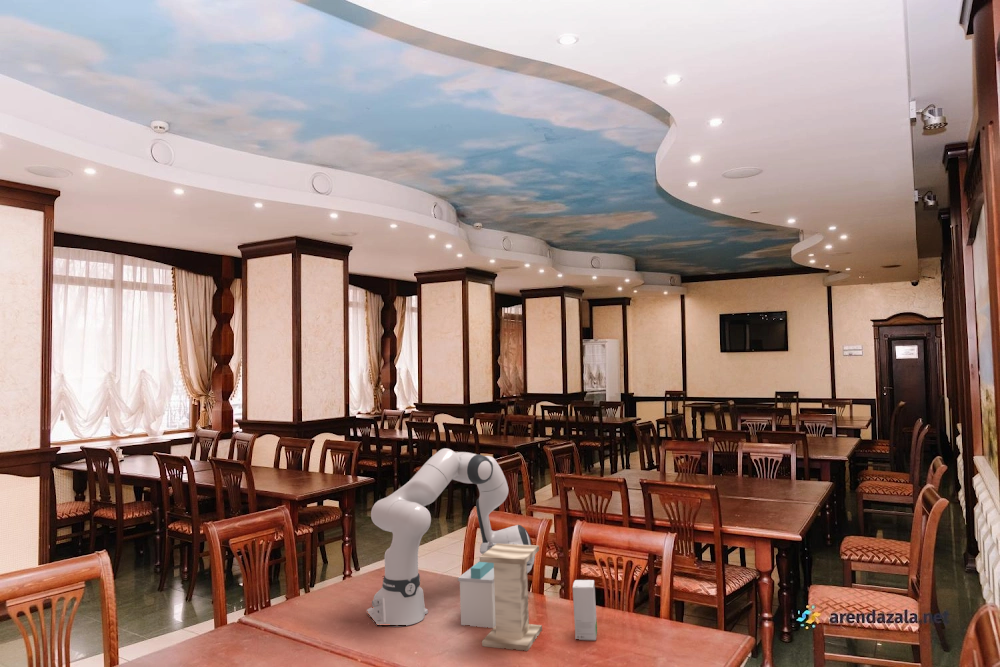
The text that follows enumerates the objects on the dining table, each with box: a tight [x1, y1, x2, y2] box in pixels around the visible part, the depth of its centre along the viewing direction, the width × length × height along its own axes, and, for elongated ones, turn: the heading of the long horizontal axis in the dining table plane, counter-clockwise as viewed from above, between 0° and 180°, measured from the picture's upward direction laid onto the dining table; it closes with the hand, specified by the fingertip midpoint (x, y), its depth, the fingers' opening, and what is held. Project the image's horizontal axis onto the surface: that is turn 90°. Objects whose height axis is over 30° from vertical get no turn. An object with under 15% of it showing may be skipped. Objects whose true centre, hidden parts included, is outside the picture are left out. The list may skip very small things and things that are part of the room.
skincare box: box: [572, 579, 598, 641], centre depth 202 cm, size 8×7×16 cm
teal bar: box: [470, 560, 494, 579], centre depth 224 cm, size 24×3×3 cm, turn 161°
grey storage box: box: [457, 562, 496, 629], centre depth 220 cm, size 17×12×15 cm
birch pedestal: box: [479, 543, 543, 652], centre depth 202 cm, size 16×14×26 cm
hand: (501, 544), depth 238 cm, fingers open, 8 cm apart
